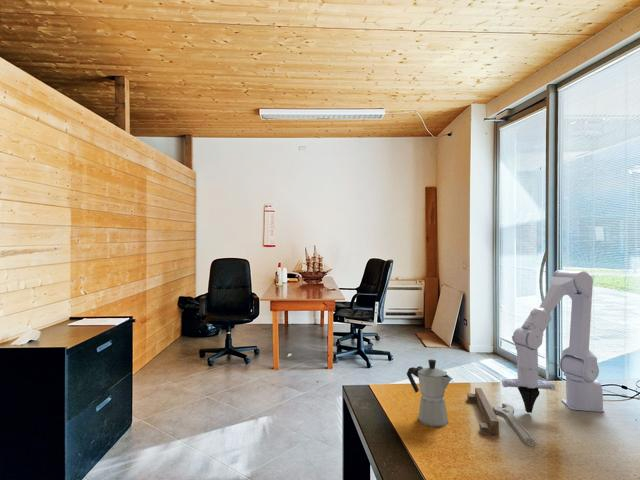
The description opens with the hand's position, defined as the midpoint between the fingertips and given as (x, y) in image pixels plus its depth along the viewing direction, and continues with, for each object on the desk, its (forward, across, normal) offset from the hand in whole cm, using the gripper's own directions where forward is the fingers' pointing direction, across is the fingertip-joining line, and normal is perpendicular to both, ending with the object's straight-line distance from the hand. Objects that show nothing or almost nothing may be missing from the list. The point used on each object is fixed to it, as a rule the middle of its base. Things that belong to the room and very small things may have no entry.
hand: (528, 411), depth 120 cm
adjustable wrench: (+1, -7, -8) cm, 11 cm away
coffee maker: (+1, -30, -10) cm, 32 cm away
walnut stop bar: (+1, -14, -4) cm, 15 cm away
